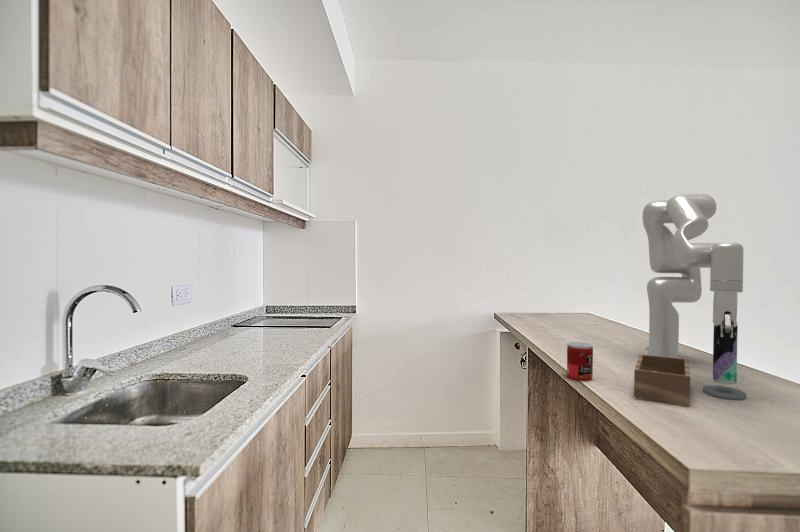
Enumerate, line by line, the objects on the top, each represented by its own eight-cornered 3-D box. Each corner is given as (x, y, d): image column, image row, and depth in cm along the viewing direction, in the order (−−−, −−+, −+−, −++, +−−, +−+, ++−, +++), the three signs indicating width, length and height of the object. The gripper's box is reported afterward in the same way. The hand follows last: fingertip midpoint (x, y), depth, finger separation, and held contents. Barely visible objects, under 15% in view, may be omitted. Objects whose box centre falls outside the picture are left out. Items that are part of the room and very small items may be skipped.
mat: (694, 389, 130) (694, 385, 130) (726, 388, 131) (726, 385, 131) (722, 400, 120) (722, 397, 120) (755, 399, 121) (755, 395, 121)
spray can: (714, 382, 124) (715, 312, 124) (711, 377, 129) (712, 310, 128) (738, 385, 122) (739, 314, 121) (734, 380, 126) (735, 311, 126)
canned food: (581, 382, 137) (582, 347, 137) (561, 376, 144) (561, 343, 144) (598, 379, 141) (598, 345, 140) (577, 373, 148) (578, 340, 148)
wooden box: (639, 378, 141) (639, 354, 141) (687, 385, 134) (688, 359, 134) (634, 398, 122) (634, 369, 122) (689, 406, 115) (690, 376, 115)
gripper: (708, 284, 134) (707, 342, 134) (712, 288, 119) (711, 353, 120) (738, 285, 130) (737, 345, 130) (747, 289, 115) (745, 357, 116)
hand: (725, 348), depth 125 cm, fingers closed on spray can, 5 cm apart
